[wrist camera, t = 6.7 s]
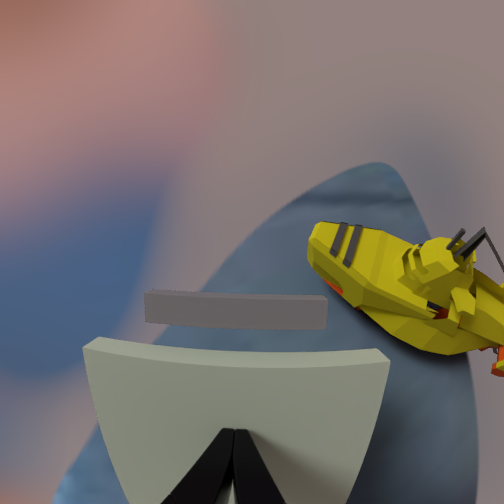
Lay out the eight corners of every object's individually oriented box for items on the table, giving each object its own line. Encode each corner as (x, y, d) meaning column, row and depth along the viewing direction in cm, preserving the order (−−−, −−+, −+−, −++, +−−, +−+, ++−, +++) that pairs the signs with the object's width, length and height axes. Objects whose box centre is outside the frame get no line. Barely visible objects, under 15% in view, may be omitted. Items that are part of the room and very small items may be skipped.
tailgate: (335, 524, 8) (399, 306, 8) (134, 514, 8) (76, 294, 8) (328, 499, 10) (374, 294, 10) (144, 490, 10) (105, 285, 10)
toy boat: (484, 389, 14) (581, 348, 5) (281, 310, 18) (310, 205, 10) (492, 319, 17) (570, 259, 9) (315, 237, 21) (348, 125, 13)
